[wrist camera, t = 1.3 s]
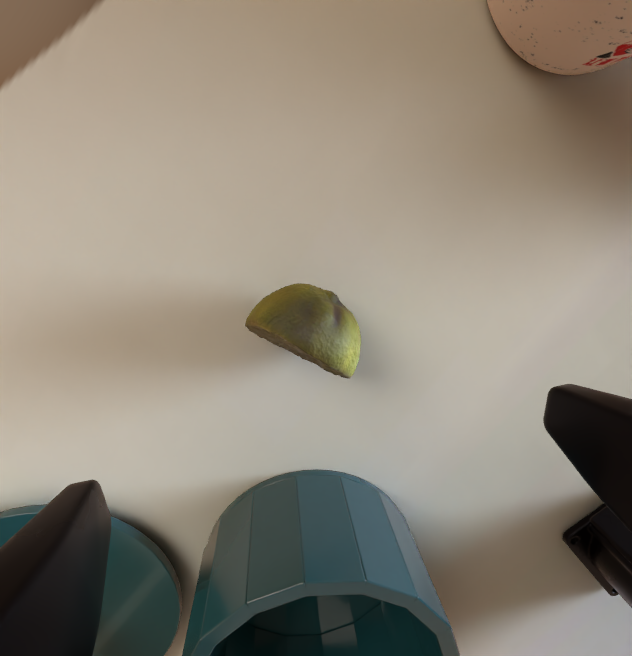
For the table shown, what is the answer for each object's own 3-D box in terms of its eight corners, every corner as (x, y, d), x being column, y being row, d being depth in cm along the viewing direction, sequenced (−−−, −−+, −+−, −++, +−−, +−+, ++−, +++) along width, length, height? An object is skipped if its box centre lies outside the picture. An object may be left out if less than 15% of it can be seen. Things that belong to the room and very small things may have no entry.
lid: (231, 588, 24) (220, 689, 19) (79, 710, 25) (30, 834, 20) (49, 450, 20) (-24, 528, 15) (-117, 599, 22) (-234, 716, 17)
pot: (446, 554, 25) (512, 682, 18) (300, 664, 26) (309, 823, 19) (320, 428, 21) (341, 527, 15) (160, 561, 23) (112, 708, 16)
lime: (351, 359, 20) (375, 404, 16) (254, 368, 20) (249, 417, 15) (347, 270, 19) (372, 290, 14) (244, 278, 19) (235, 301, 14)
